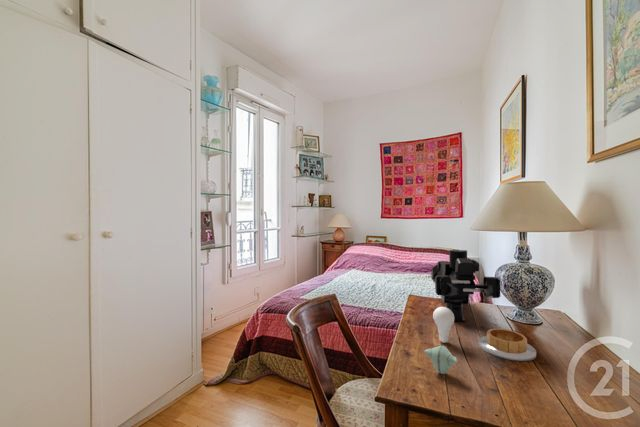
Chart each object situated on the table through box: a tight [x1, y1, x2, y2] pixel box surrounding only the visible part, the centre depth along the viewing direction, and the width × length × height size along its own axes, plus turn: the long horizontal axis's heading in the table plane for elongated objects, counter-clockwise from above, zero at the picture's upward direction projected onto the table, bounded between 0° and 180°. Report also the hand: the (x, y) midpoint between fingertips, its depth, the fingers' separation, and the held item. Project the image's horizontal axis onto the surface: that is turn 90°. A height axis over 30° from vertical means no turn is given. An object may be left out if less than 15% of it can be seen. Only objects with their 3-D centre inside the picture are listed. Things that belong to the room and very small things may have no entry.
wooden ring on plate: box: [478, 328, 537, 362], centre depth 84 cm, size 14×14×4 cm
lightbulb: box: [432, 306, 455, 344], centre depth 89 cm, size 6×6×11 cm
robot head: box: [423, 345, 458, 375], centre depth 72 cm, size 8×4×7 cm, turn 47°
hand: (474, 293), depth 83 cm, fingers open, 9 cm apart
